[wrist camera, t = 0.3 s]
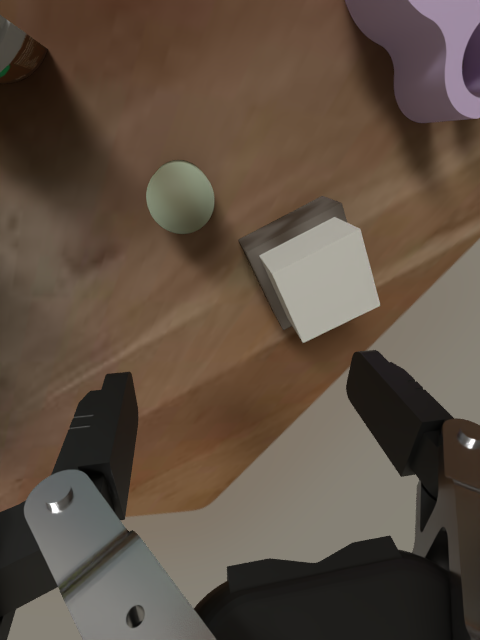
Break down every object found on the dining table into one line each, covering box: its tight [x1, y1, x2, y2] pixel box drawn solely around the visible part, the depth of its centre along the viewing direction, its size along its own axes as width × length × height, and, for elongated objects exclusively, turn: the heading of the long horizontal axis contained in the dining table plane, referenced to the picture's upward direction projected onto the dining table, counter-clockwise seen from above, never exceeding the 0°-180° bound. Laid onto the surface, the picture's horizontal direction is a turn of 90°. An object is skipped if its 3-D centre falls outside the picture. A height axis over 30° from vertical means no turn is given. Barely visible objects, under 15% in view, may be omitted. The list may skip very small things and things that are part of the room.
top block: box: [259, 217, 380, 343], centre depth 31 cm, size 8×8×5 cm
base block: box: [239, 196, 347, 330], centre depth 35 cm, size 10×10×5 cm
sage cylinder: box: [146, 160, 214, 234], centre depth 29 cm, size 6×6×6 cm
